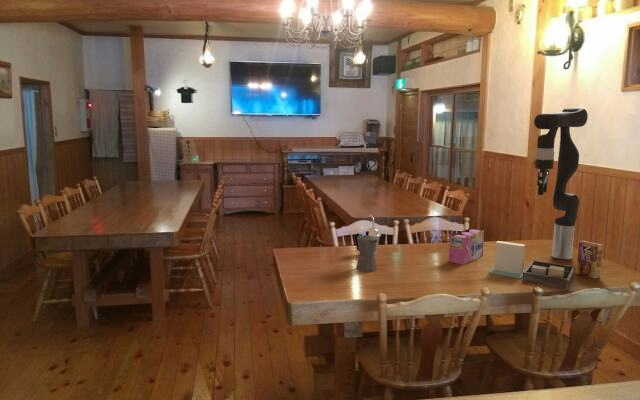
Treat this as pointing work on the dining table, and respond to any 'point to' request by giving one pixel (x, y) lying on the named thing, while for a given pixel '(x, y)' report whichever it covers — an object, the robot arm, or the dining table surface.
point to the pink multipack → (466, 246)
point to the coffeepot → (366, 252)
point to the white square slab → (509, 257)
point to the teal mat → (506, 273)
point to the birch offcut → (556, 271)
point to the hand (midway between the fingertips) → (542, 193)
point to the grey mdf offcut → (539, 270)
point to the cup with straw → (374, 234)
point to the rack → (547, 279)
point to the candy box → (589, 259)
